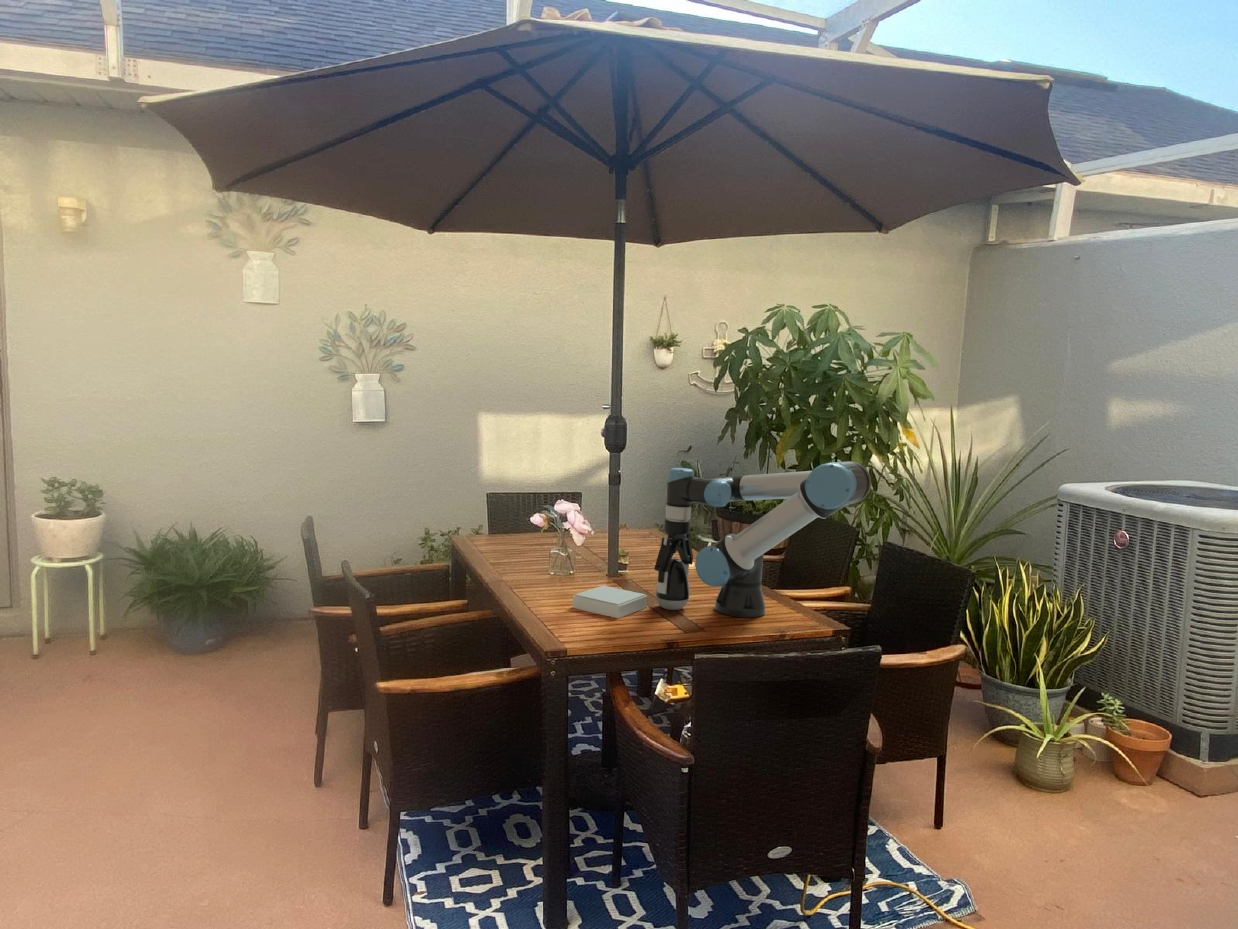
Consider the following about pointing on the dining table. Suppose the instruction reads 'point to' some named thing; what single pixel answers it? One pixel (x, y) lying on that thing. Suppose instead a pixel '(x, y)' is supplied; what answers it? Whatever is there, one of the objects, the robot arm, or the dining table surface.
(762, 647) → the dining table surface
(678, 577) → the black grey egg speaker
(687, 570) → the robot arm
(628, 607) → the plinth
